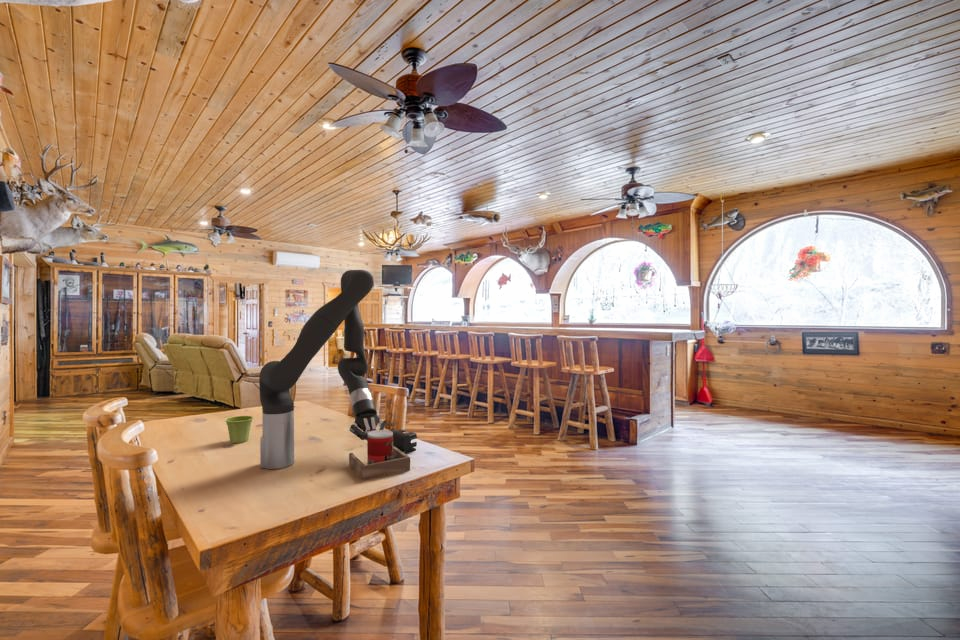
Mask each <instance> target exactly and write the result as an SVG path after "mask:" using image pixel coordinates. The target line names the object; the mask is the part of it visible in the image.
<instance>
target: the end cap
mask: <svg viewBox="0 0 960 640" xmlns="http://www.w3.org/2000/svg"><path fill="white" fill-rule="evenodd" d="M389 431H392V432H393V446H395V447H396V448H398V449H399V450H400V451H402V452H403V453H405V454H409V453H412V452H415V451H416V450H417V449H416V448H415V447H417V446H418V445H417V444H418V443H417V441H414V442H412V441H413V440H416V439H417V437H418V435H417V433H416V432H413V431H409V432H406V430H404V429H397V430H395V429H389Z"/></svg>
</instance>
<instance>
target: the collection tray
mask: <svg viewBox="0 0 960 640" xmlns="http://www.w3.org/2000/svg"><path fill="white" fill-rule="evenodd" d="M348 467H350V469H351V470H352V471H353V470H354V473H355V474H356V475H357V476H358V477H359V478H360V479H361V480H362V481H365V480H369V479H370V478H371V479H374V477H375V478H380V477H384V476H383V475H385V476H389V475H388V474H390V475H393V473H394V474H399V473H403V471H404V472H407V470H409V471H411V457H410V456H409V455H407V453H405V452H402V451H400V450H399V449H398V448H396V447H395V446H393V460H388V461H383V462H378V463H372V464H368V463H367V464H365V463H364V462H363V461H361V459H359V457H358V456H356V455H355V454H354V453H353V452H350V453H348ZM398 472H399V473H398ZM379 476H380V477H379Z"/></svg>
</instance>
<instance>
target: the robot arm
mask: <svg viewBox="0 0 960 640" xmlns="http://www.w3.org/2000/svg"><path fill="white" fill-rule="evenodd" d="M374 283H375V279H374V276H373V274H372V273H371V271H368V270H365V269H348V270H346V271H344V272H343V274H342V275H341V277H340V293H339V294H338V295H337V296H336V297H334V298H333V299H331V300H330V301H328V302H326V303H325V304H323V305H322V306H321V307H320V308H318V309H317V310H316V311H315V312H314V313H313V314H312V315H311V316H310V318H308V320H307V321H306V322H305V324H304V325H303V326H302V328H301V331H300V333H299V335H298V338H297V340H296V342H295V344H294V346H293V347H292V348H291V350H290V351H289V352H288V353H286V355H285V356H284V357H283V358H282V359H280V361H279V360H271V361H268V362H267V363H265V364H264V365H263V366H262V368H261V370H260V372H259V379H258V381H259V382H258V383H259V384H258V385H259V401H260V404H261V407H262V409H261V410H262V411H261V412H262V420H261V421H262V423H261V424H262V436H261V437H260V440H259V441H260V442H259V443H260V444H259V445H260V454H259V455H260V457H259V458H260V463H259V465H260V468H261V469H266V470H267V469H269V470H277V469H283V468H286V467H287V468H288V467H290V466H292V465H293V464H294V463H295V403H294V401H293V398H292V396H291V393H290V392H291V391H290V389H292V388H293V387H294V386H295V384H297V382H298V380H299V379H300V378H301V376H302V374H303V373H304V371H305V369H306V368H307V367H308V366H309V364H310V362H311V361H312V359H313V358H314V357H315V356H316V355H317V354H318V352H320V350H321V349H322V348H323V346H324V345H325V344H326V343H327V341H329V340H330V339H331V337H332V336H333V334H334V333H335V332H336V331H337V330H338V328H339V327H340V326H341V324H344V332H343V334H344V335H343V336H344V337H343V349H344V351H347V352H348V353H349V352H350V353H354V354H355V355H356V357H344V358H341V359H340V360H339V361H338V363H337V372H338V375H339V376H340V378H341V379H342V381H343V382H344V384H345V386H346V387H347V390H348V393H349V400H350V406H351V408H352V413H353V416H354V422H353V424H351V425H350V427H349V432H351V433H352V434H353V435H354V436H356V437H357V438H359V439H360V440H361V441H364V440H365V441H367V436H368V433H369V432H371V431H375V430H377V426H379V429H378V430H385V427H386V424H387V423H388V421H387V420H386V419H381V418H380V416H379V415H378V412H377V408H376V405H375V402H374V398H373V395H372V392H371V390H370V387H369V384H368V383H369V382H368V380H367V379H366V378H365V377H364V376H365V375H366V374H367V373H368V368H369V366H368V362H367V361H368V360H367V357H366V353H365V346H364V344H365V343H364V341H365V329H364V328H365V327H364V322H363V319H362V316H361V311H360V308H359V303H361V302H362V301H363V299H364V298H366V297H367V295H369V293H370V292H371V291H372V289H373V287H374ZM343 322H344V323H343ZM378 424H379V425H378Z"/></svg>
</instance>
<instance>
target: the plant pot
mask: <svg viewBox="0 0 960 640" xmlns="http://www.w3.org/2000/svg"><path fill="white" fill-rule="evenodd" d="M253 419H254V416H252V415H236V416H230V417H227V418H225V419H224V422H226V426H227V431H228V436H229V437H228V438H229V442H230V443H232V444H234V443H237V444H241V442H242V443H245V442H247V441H249V438H250V432H251V426H252V425H251V424H252V422H253Z"/></svg>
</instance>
